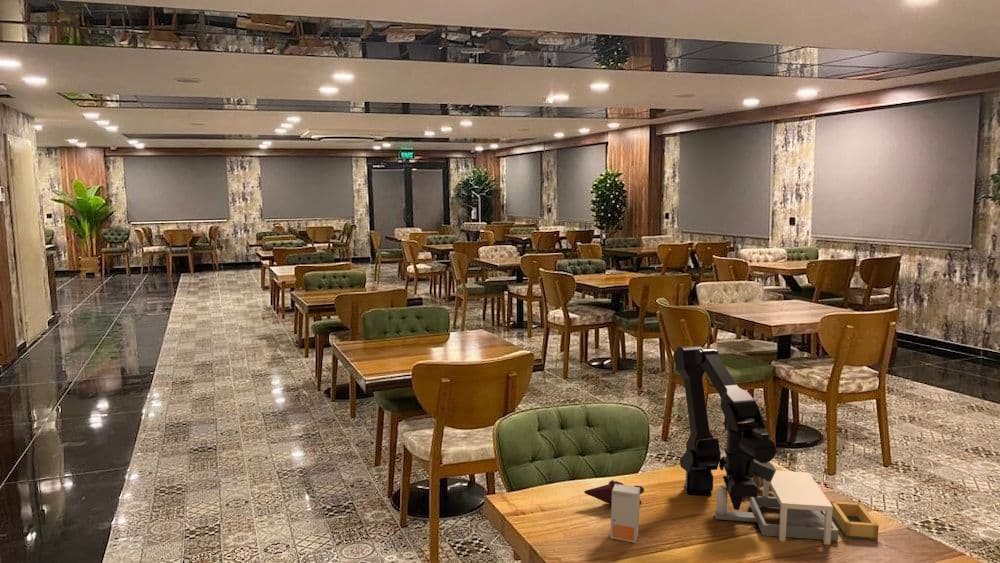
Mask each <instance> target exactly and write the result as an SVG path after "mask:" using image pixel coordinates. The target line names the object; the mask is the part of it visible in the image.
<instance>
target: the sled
mask: <svg viewBox="0 0 1000 563" xmlns="http://www.w3.org/2000/svg"><path fill="white" fill-rule="evenodd" d="M716 489H717V493H716V509H714V513H713V514H714V517H715V520H724V521H725V520H726V521H737V522H739V521H740V522H749V523H750V522H751V523H754V522H755V523H757V524H758V527H759V530H760V532H761V534H762V536H767V537H769V536H771V537H779V525H780V524H778V523H777V524H776V523H775V524H773V523H767V522H766V520H765V518H764V515H763V514H762V511H761V509H760V508H773V509H774V508H775V509H780V504H779V502H778V500H777V498H776V496H768V497H766V496H763V495H758V497H749V507H750V509H751V511H752V512H749V511H739V510H728V495H729V493H728V490H727V487H726V486H723V485H721V486H720V485H719V486H717V488H716ZM820 512H821V514H823V515H824V516H825V511H820ZM833 521H834V520H832V526H831V541H839V533H840V532H839V531H840V529H839V528H838V526H837V525H836V523H835V522H833ZM786 538H797V539H808V540H812V539H813V540H822V541H823V538H824V528H819V527H805V526H791V525H786Z"/></svg>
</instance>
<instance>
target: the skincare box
mask: <svg viewBox="0 0 1000 563" xmlns="http://www.w3.org/2000/svg"><path fill="white" fill-rule="evenodd" d="M634 486H635V485H628V484H627V485H626V484H624V485H620V484H615V485H614V487H613V490H612V504H611V507H610V509H611V510H610V540H611V539H612V540H619V541H623V542H624V541H625V542H629V543H634V544H636V542H637V539H638V536H639V528H640V527H639V526H640V505H641V504H640V500H641V499H640V498H641V497H640V496H641V494H640V487H634ZM639 504H640V505H639Z"/></svg>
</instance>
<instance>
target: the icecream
mask: <svg viewBox="0 0 1000 563" xmlns="http://www.w3.org/2000/svg"><path fill="white" fill-rule="evenodd" d="M615 484H620V485H625V484H624V483H622V482H619V481H617V480H615V481H614V480H613V479H611V480H609V481H608V484H604V485H601V486H597V487H594V488H589V489H586V490H584V494H586V495H588V496H589V497H593V498H595V499H598V500H600V501H602V502H604V503H607V504H608V505H609V507H610V508H611V504H612V490H613V487H614V485H615ZM633 486H634V487H640V495H642V494H643V493H644V492H645V489H644V487H643V486H642V485H633ZM641 500H642V499H640V504H639V506H641V505H642V501H641Z"/></svg>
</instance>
